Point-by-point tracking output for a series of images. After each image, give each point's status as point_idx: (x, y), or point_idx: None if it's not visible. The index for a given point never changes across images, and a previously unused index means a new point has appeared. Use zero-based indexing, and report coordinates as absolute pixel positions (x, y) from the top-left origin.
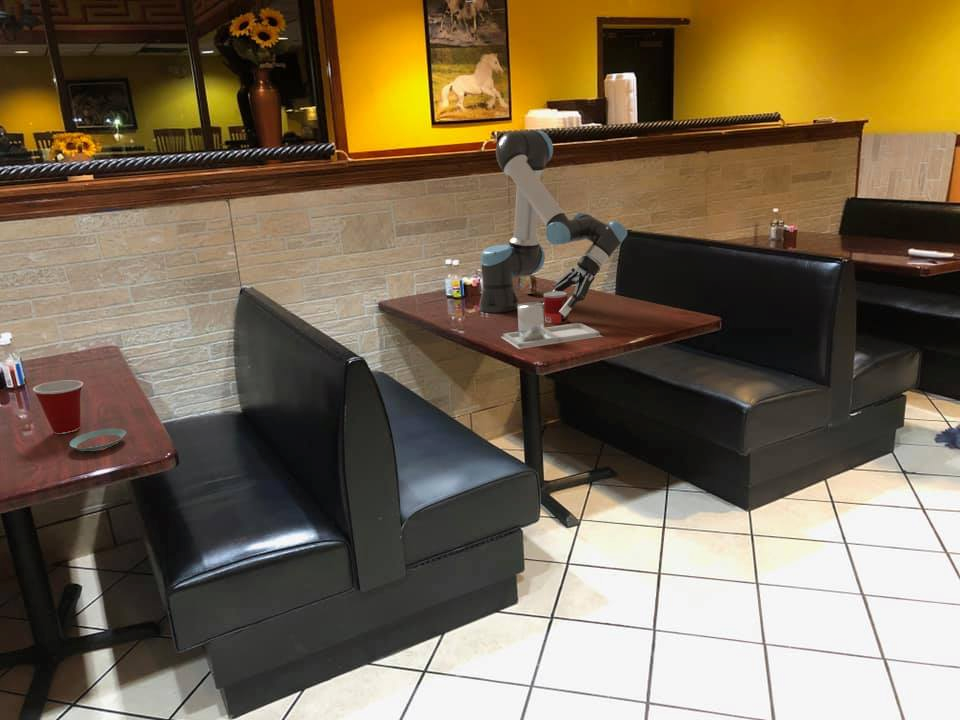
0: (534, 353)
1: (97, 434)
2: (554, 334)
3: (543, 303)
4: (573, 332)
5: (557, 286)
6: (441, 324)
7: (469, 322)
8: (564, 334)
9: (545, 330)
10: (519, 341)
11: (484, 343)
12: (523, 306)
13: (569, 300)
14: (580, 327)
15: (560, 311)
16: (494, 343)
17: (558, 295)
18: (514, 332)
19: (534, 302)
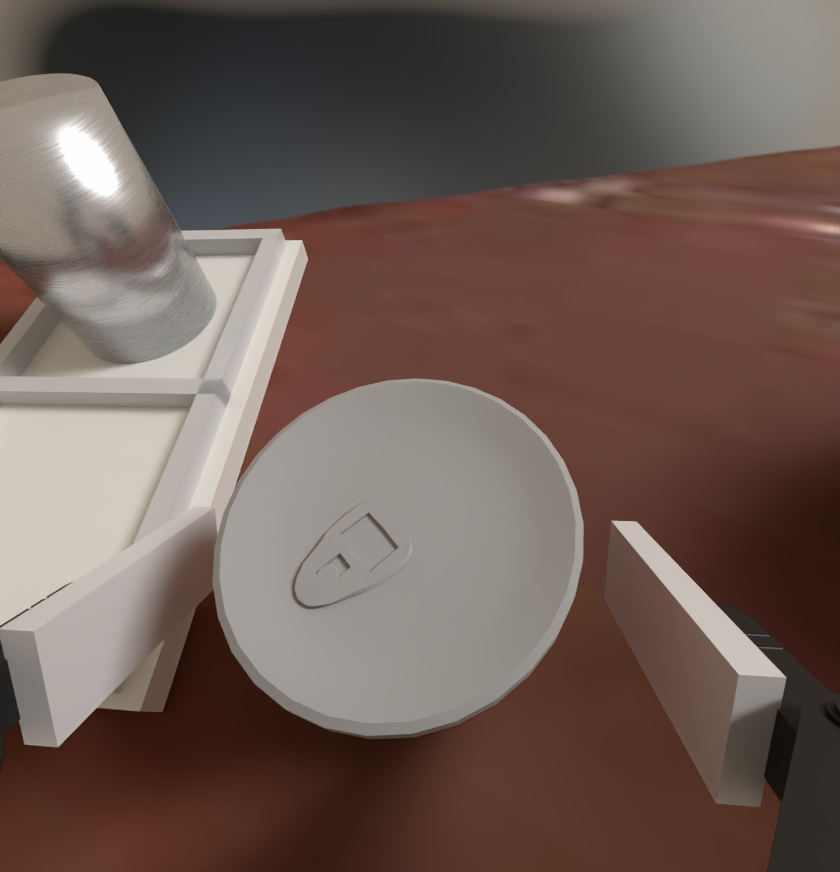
0: None
1: None
2: (45, 387)
3: (624, 524)
4: (39, 547)
5: (833, 768)
6: (739, 169)
7: (742, 245)
8: (63, 476)
9: (156, 381)
10: None
11: (328, 216)
12: (22, 88)
13: (65, 591)
14: None
15: (189, 511)
16: (300, 238)
17: (315, 535)
18: (258, 264)
19: (29, 140)
